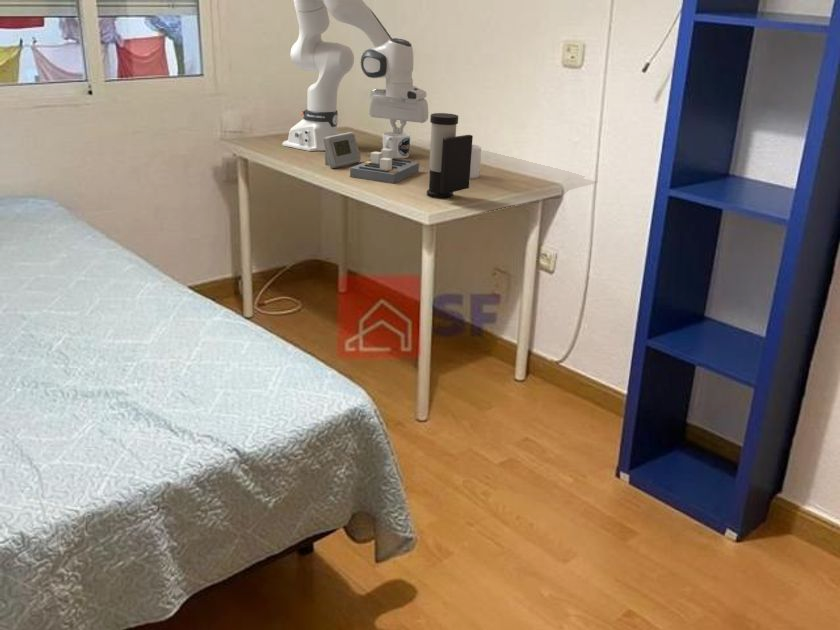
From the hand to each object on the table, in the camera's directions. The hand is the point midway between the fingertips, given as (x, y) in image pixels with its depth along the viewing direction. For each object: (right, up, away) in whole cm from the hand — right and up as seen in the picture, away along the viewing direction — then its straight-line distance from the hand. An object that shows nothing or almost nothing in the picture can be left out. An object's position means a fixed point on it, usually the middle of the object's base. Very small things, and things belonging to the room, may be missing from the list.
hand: (397, 133), depth 273 cm
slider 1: (-7, -9, +5) cm, 13 cm away
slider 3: (-4, -13, -3) cm, 14 cm away
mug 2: (+22, -13, +10) cm, 27 cm away
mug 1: (-2, -1, +34) cm, 34 cm away
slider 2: (-4, -7, +11) cm, 14 cm away
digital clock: (-20, -8, +16) cm, 27 cm away
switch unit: (-5, -13, +6) cm, 15 cm away
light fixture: (+15, -24, -18) cm, 33 cm away
